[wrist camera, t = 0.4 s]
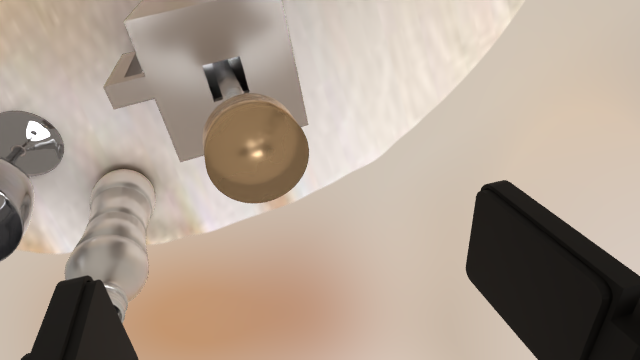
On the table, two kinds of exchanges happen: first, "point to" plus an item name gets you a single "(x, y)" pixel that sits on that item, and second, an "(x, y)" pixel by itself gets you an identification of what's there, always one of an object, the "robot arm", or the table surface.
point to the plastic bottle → (116, 237)
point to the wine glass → (22, 171)
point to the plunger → (250, 139)
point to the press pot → (203, 61)
